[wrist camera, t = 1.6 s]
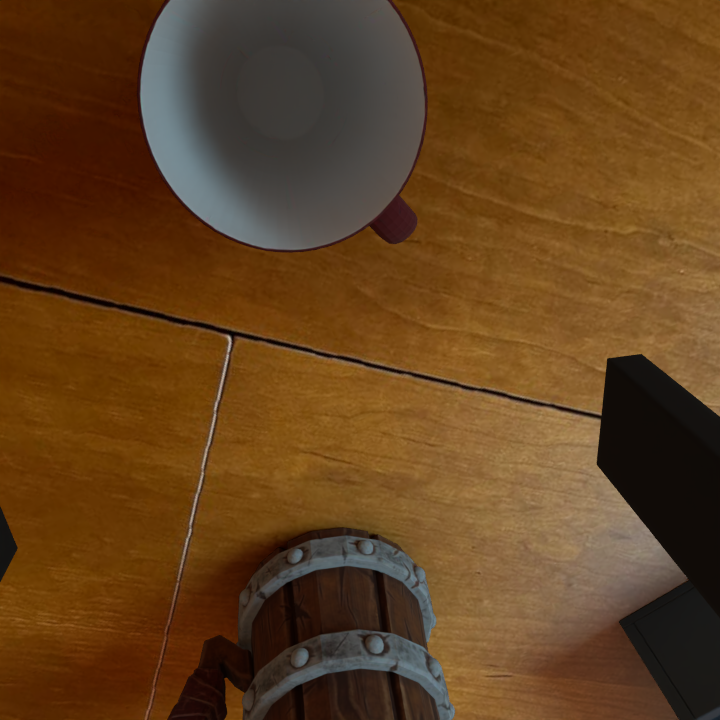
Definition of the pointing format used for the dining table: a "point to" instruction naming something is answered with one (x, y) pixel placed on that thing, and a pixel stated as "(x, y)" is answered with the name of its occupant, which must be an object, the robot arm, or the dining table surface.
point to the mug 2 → (326, 638)
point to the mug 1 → (285, 117)
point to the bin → (681, 650)
